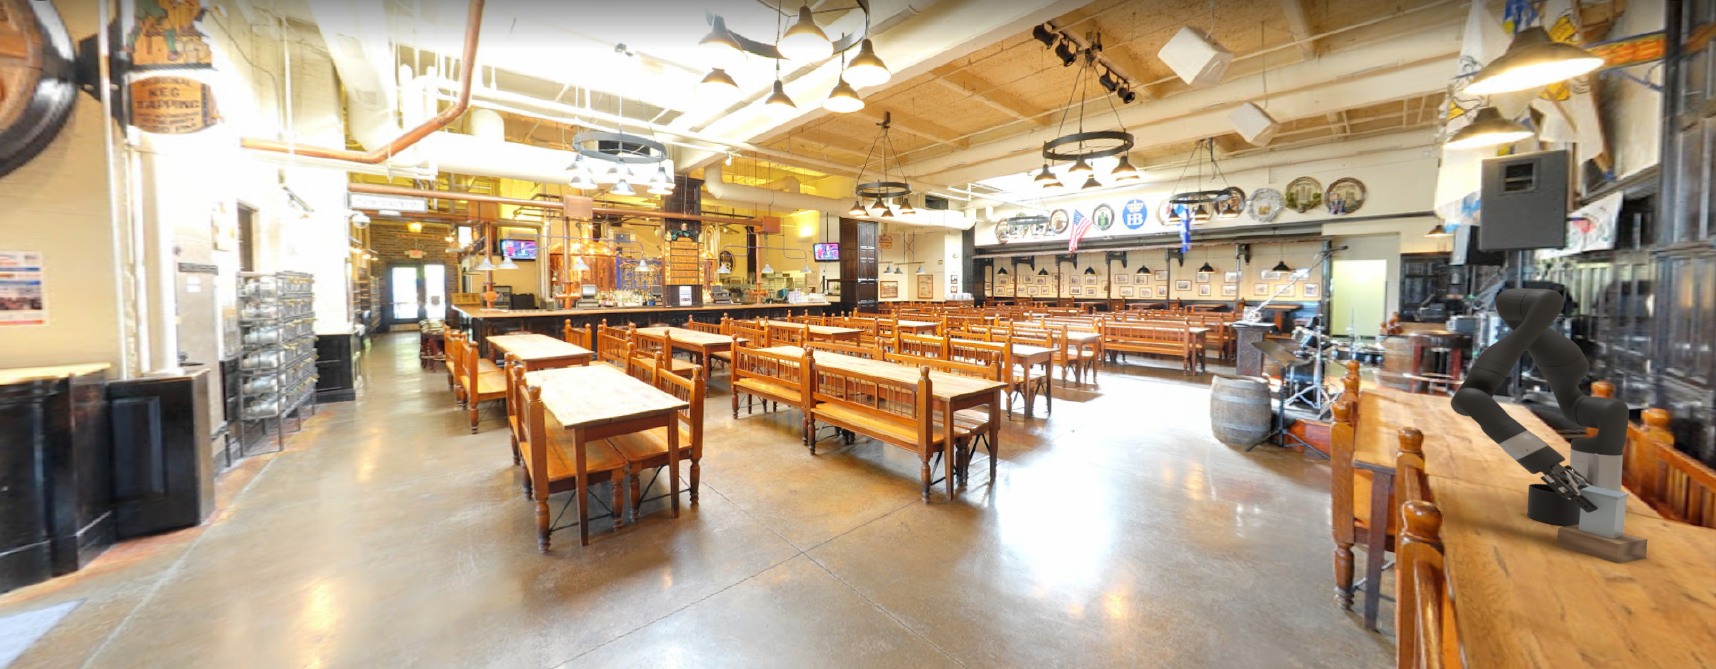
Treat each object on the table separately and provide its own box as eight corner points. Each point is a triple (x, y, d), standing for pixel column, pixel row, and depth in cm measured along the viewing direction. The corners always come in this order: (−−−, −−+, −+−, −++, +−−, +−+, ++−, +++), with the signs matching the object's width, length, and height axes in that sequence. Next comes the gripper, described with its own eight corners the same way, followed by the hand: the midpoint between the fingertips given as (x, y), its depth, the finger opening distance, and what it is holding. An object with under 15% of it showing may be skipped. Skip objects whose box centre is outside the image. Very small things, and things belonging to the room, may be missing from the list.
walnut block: (1584, 541, 144) (1585, 523, 144) (1646, 559, 134) (1647, 539, 134) (1557, 546, 142) (1558, 527, 142) (1617, 564, 132) (1618, 544, 132)
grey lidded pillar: (1587, 525, 142) (1591, 485, 141) (1624, 534, 137) (1628, 493, 136) (1577, 529, 140) (1580, 489, 139) (1614, 539, 135) (1618, 497, 134)
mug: (1578, 517, 158) (1580, 486, 158) (1582, 529, 150) (1583, 497, 150) (1527, 508, 165) (1528, 479, 165) (1527, 520, 158) (1529, 489, 157)
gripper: (1536, 448, 142) (1608, 506, 132) (1556, 440, 148) (1625, 495, 139) (1505, 463, 147) (1572, 520, 138) (1525, 455, 153) (1590, 509, 144)
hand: (1599, 507), depth 138 cm, fingers open, 8 cm apart
